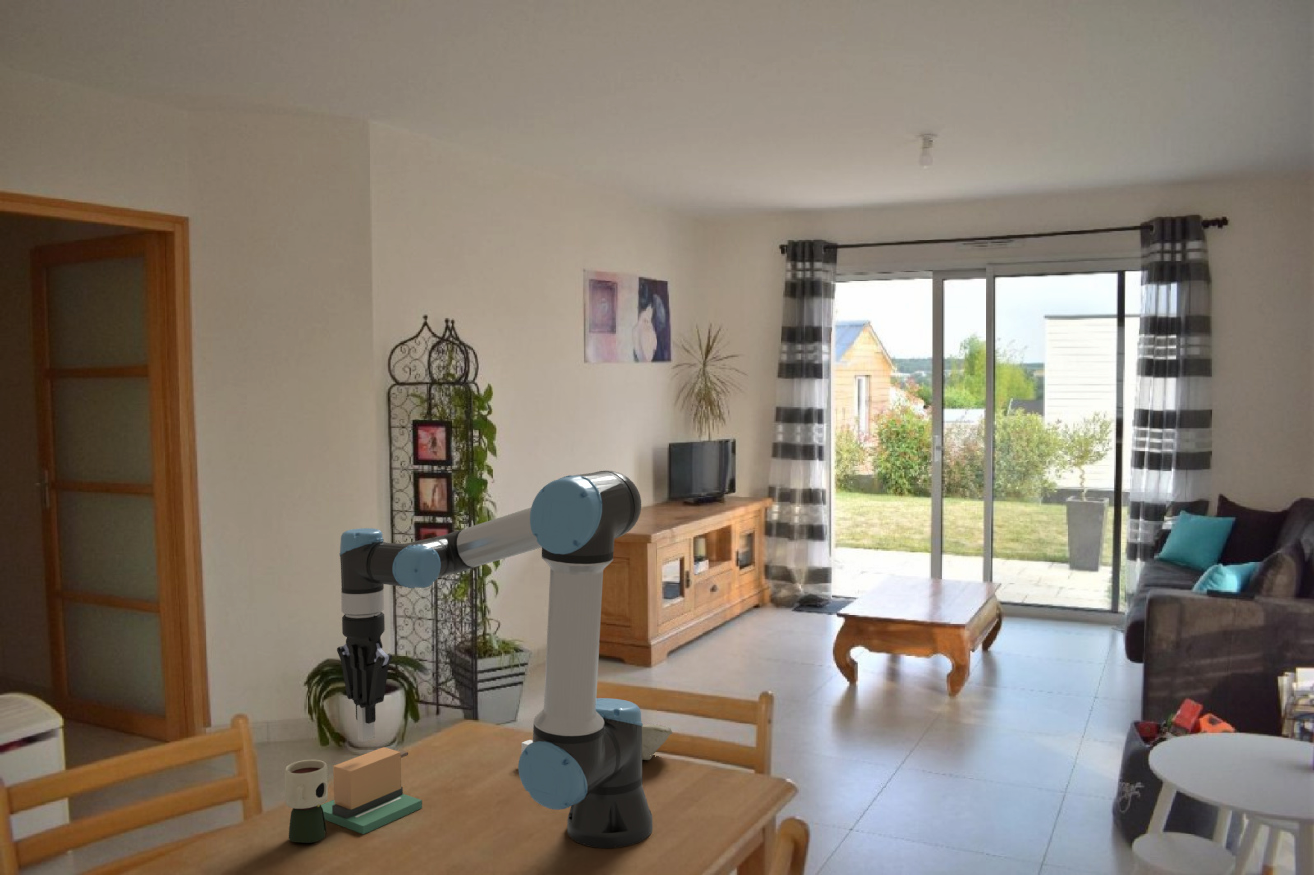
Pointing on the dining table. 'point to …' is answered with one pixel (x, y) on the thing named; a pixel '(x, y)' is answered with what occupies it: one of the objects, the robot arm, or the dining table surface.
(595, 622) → the robot arm
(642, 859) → the dining table surface
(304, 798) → the character mug
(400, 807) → the board
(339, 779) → the block
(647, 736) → the bowl
